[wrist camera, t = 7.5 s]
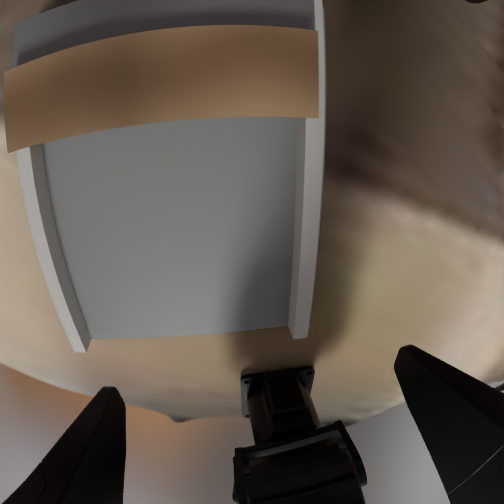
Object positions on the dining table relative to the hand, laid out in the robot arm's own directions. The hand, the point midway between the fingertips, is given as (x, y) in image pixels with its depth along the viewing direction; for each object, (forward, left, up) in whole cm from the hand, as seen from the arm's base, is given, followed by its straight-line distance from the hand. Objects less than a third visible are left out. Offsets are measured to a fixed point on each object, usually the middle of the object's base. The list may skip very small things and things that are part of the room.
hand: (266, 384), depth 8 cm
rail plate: (+3, +4, -12) cm, 13 cm away
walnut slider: (+9, +4, -11) cm, 14 cm away
